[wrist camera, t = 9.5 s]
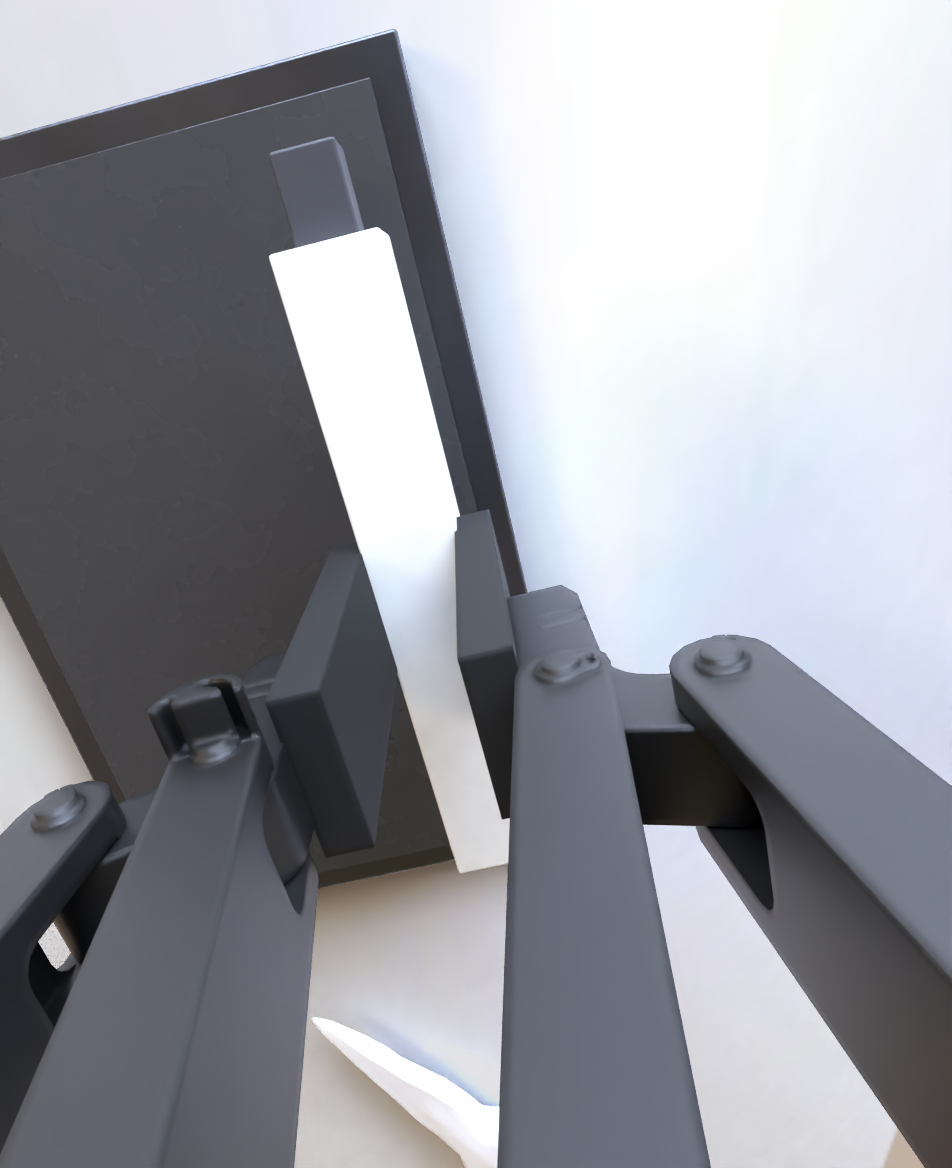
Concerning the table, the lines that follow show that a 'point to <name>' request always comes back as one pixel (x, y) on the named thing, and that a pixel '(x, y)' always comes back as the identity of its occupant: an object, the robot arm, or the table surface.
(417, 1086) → the white tapered piece
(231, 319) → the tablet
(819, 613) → the table surface
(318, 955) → the table surface
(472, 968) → the table surface
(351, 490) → the white rectangular bar
